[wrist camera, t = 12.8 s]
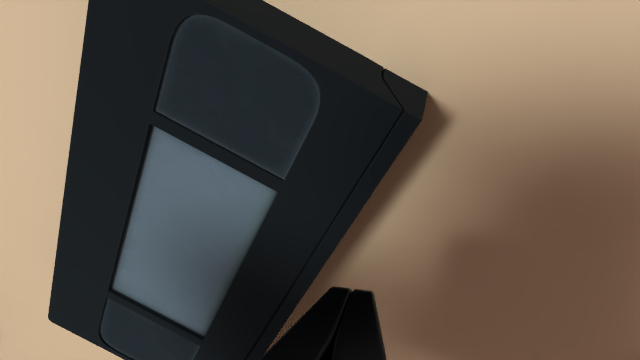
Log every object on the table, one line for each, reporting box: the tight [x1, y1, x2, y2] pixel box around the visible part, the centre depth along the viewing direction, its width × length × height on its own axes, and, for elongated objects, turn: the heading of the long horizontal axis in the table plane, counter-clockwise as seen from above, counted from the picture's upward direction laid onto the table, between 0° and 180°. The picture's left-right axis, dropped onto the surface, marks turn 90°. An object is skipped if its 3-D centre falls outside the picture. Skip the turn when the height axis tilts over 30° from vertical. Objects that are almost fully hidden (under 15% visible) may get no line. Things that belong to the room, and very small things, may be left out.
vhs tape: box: [48, 0, 427, 360], centre depth 15 cm, size 8×14×2 cm, turn 156°
